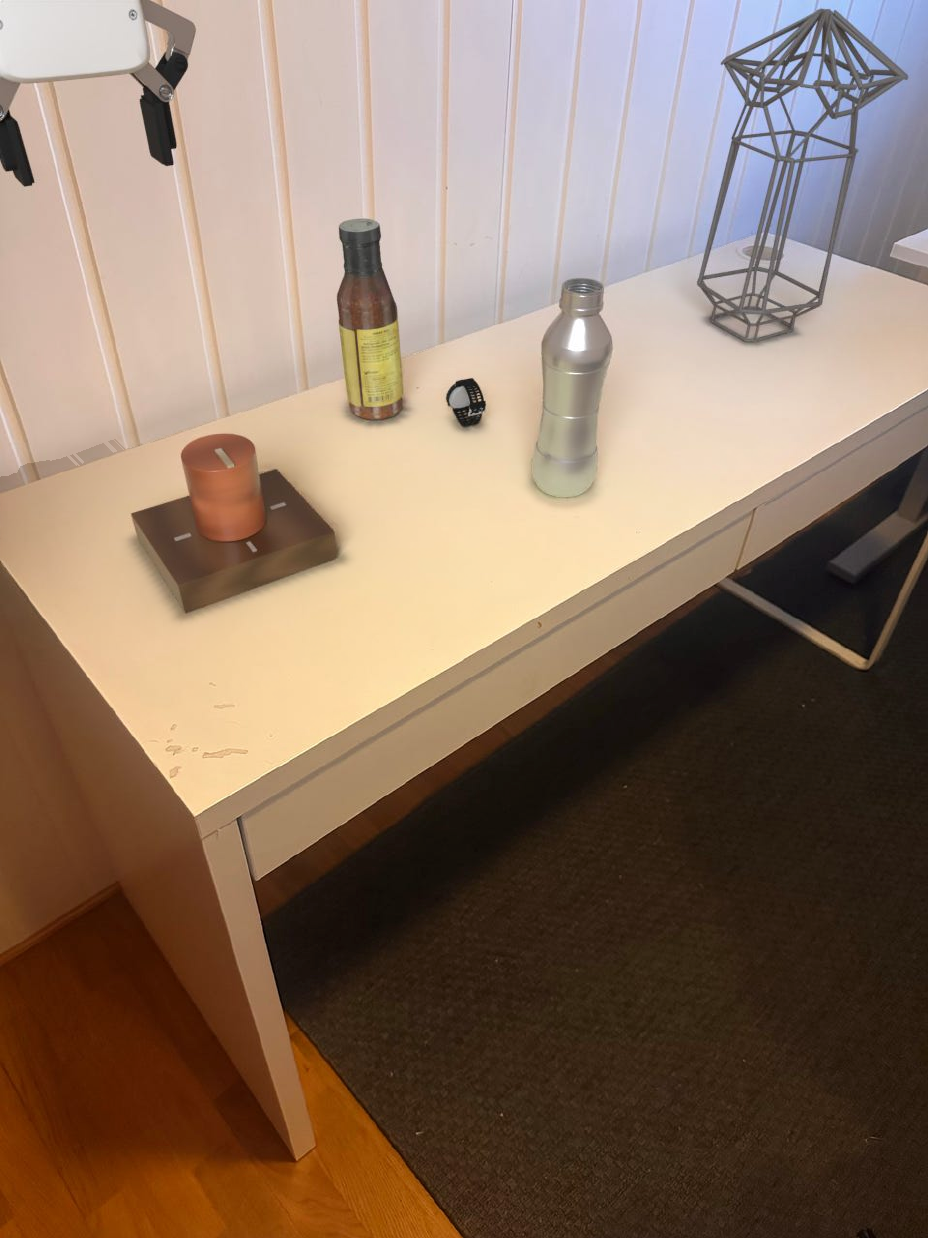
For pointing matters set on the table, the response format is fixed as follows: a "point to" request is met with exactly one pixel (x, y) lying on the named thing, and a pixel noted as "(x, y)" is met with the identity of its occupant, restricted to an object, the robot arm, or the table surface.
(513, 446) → the table surface
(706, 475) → the table surface
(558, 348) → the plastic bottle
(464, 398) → the smartwatch
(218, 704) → the table surface
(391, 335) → the sauce bottle
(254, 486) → the rotary dial knob
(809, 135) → the geometric lantern
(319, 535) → the dial base plate
